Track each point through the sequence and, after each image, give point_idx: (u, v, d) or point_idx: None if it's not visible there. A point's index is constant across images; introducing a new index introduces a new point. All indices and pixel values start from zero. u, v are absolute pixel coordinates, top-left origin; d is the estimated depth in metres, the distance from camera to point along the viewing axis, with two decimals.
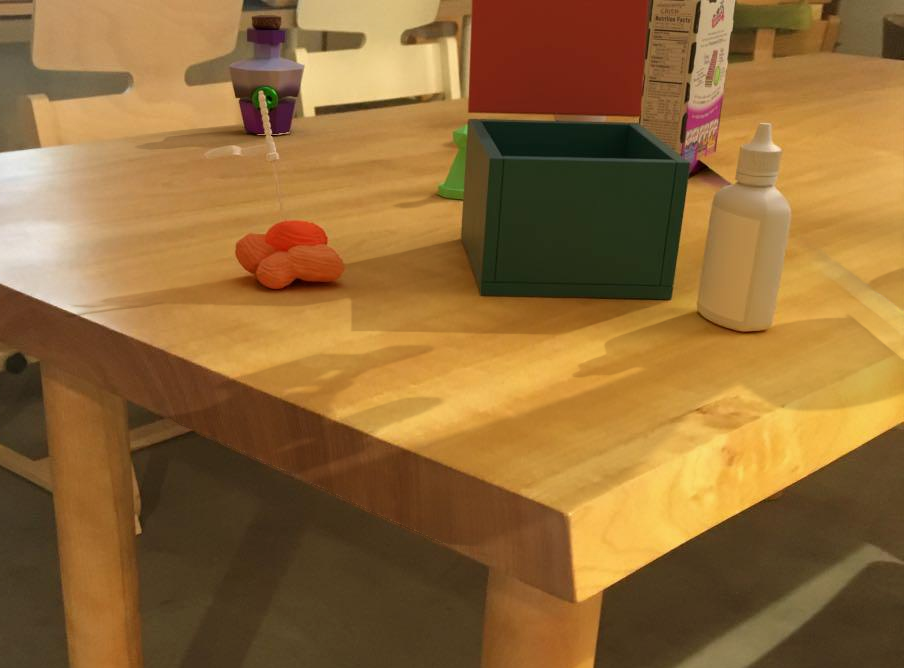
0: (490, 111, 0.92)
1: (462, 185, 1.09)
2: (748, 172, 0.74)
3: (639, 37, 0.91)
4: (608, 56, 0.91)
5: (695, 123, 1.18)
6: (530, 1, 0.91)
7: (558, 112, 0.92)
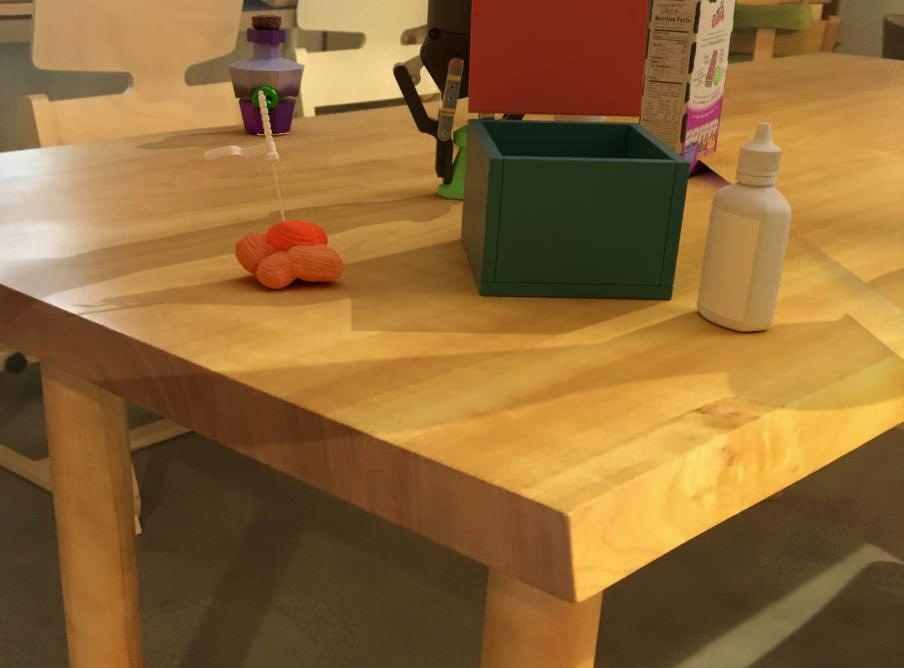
0: (490, 111, 0.92)
1: (462, 185, 1.09)
2: (748, 172, 0.74)
3: (639, 37, 0.91)
4: (608, 56, 0.91)
5: (695, 123, 1.17)
6: (530, 1, 0.91)
7: (558, 112, 0.92)
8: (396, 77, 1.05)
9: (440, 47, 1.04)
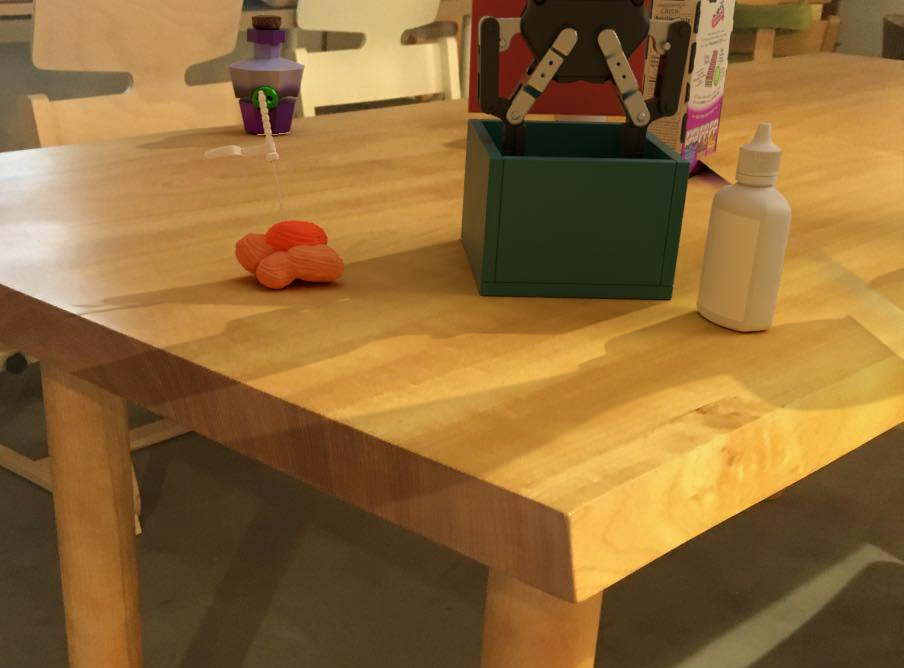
0: None
1: None
2: (748, 172, 0.74)
3: None
4: None
5: (695, 123, 1.17)
6: None
7: (558, 112, 0.92)
8: (483, 30, 0.81)
9: (550, 19, 0.80)
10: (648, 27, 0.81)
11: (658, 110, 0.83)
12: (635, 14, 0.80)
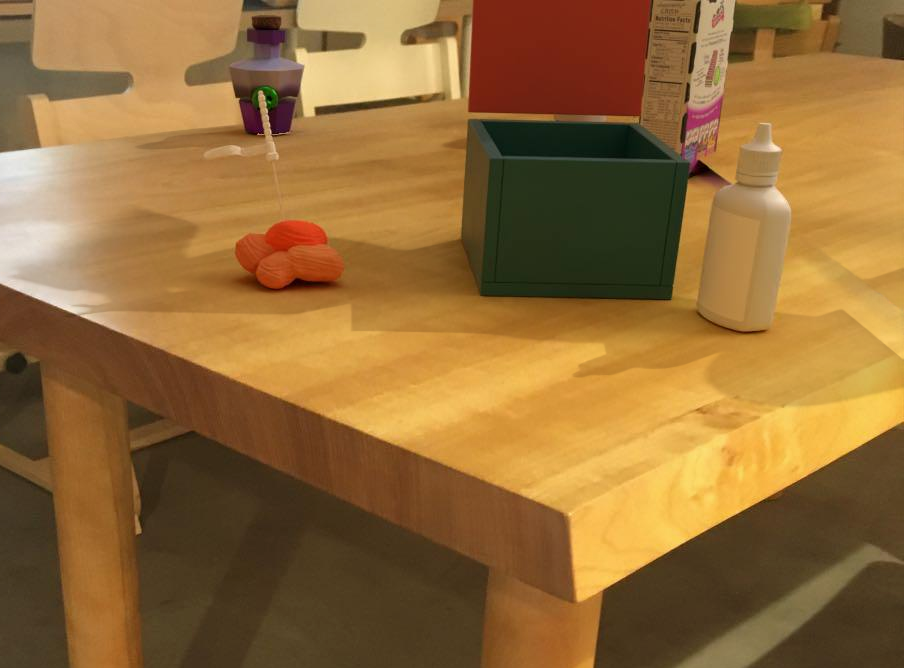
0: (490, 111, 0.92)
1: None
2: (748, 172, 0.74)
3: (641, 37, 0.91)
4: (609, 56, 0.91)
5: (695, 123, 1.17)
6: (531, 0, 0.90)
7: (558, 113, 0.92)
8: None
9: None
10: None
11: None
12: None
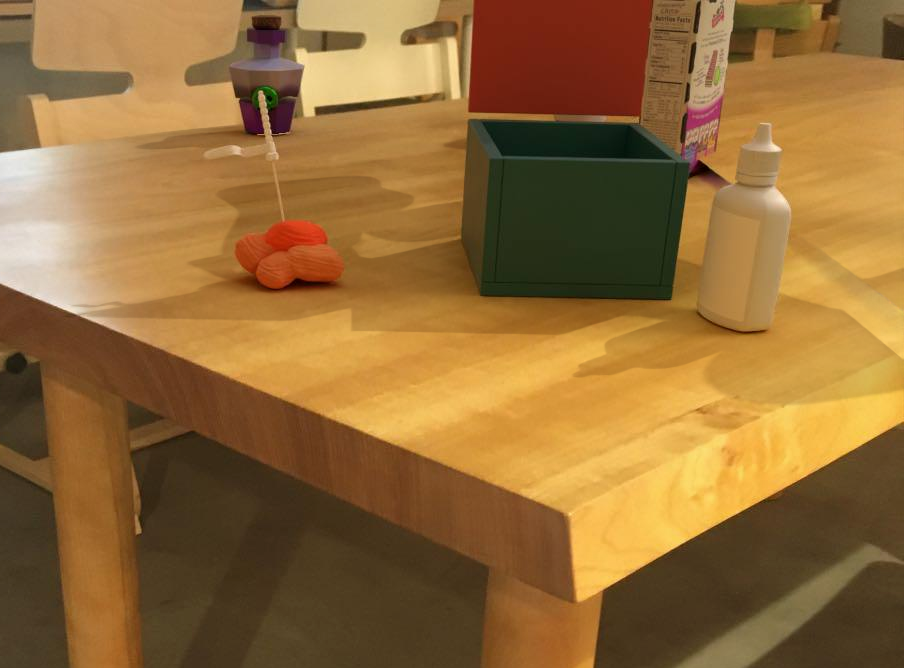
0: (490, 112, 0.92)
1: None
2: (748, 172, 0.74)
3: (642, 37, 0.90)
4: (610, 56, 0.91)
5: (695, 123, 1.17)
6: (533, 0, 0.89)
7: (558, 113, 0.92)
8: None
9: None
10: None
11: None
12: None
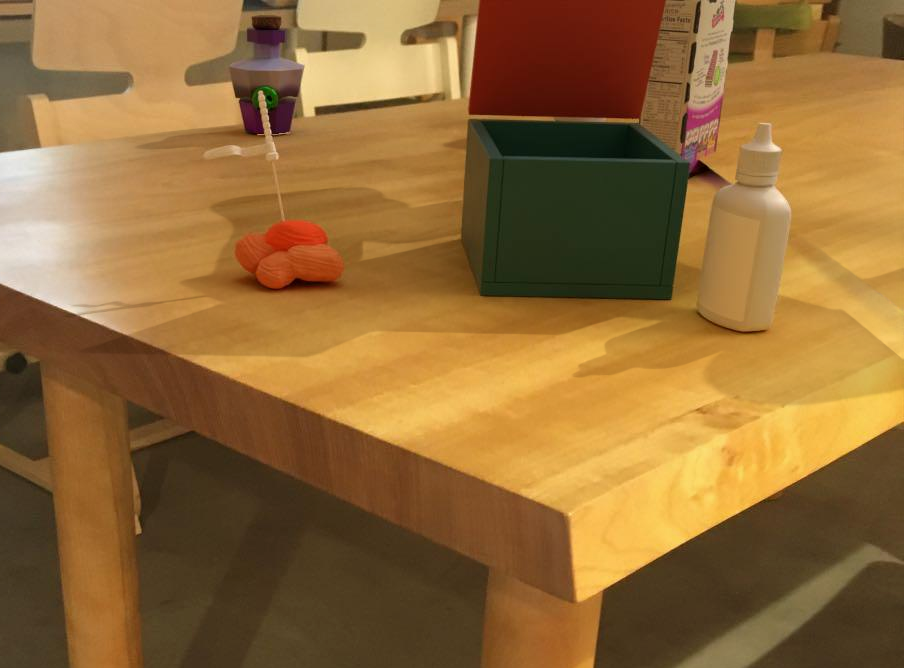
0: (490, 114, 0.92)
1: None
2: (748, 172, 0.74)
3: (648, 49, 0.88)
4: (614, 66, 0.89)
5: (695, 123, 1.17)
6: (539, 16, 0.86)
7: (558, 116, 0.92)
8: None
9: None
10: None
11: None
12: None
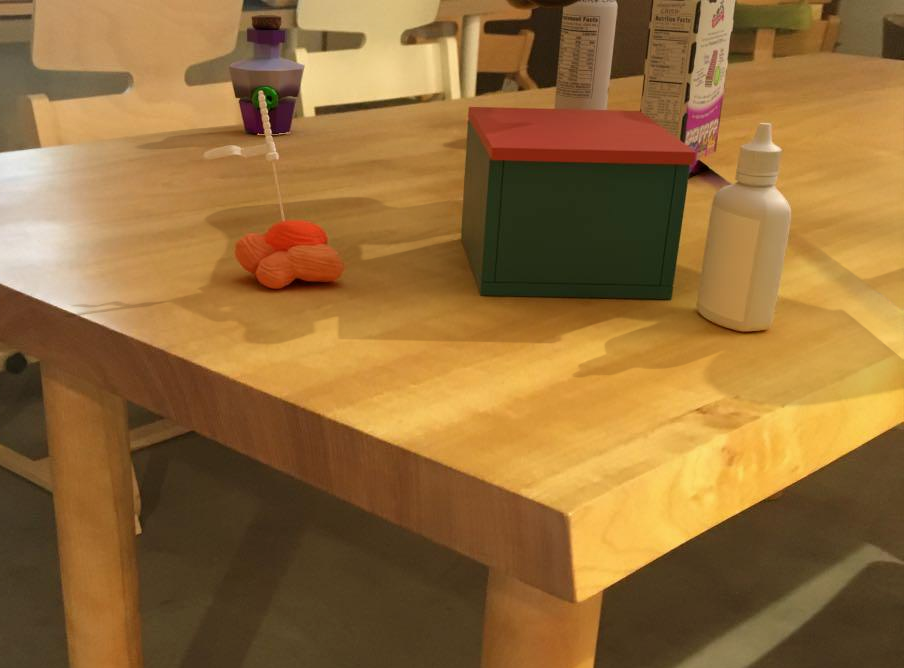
0: None
1: None
2: (748, 172, 0.74)
3: None
4: None
5: (695, 123, 1.17)
6: None
7: None
8: None
9: None
10: None
11: None
12: None
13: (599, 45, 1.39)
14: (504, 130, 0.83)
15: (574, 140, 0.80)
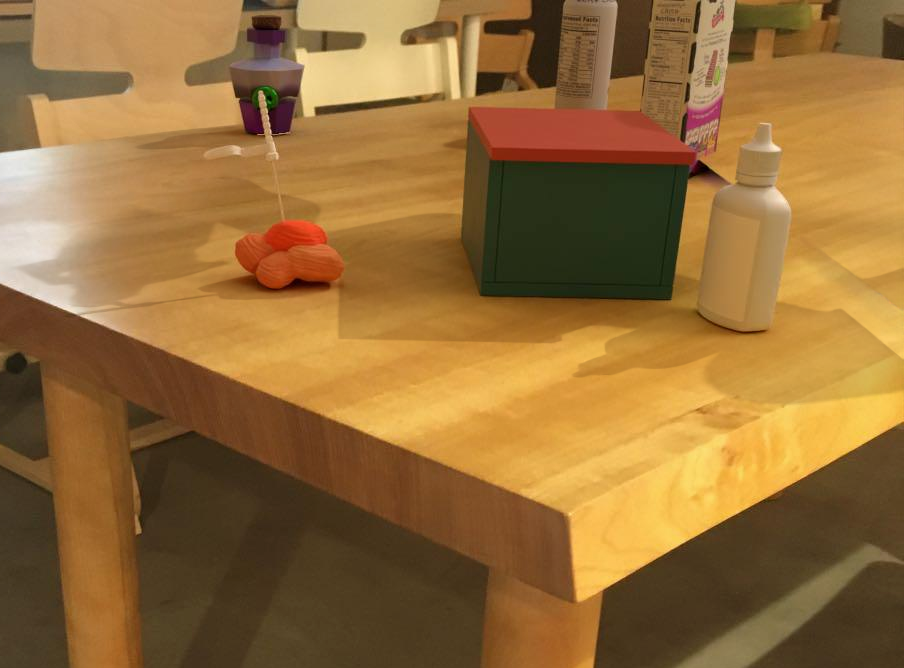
0: None
1: None
2: (748, 172, 0.74)
3: None
4: None
5: (695, 123, 1.17)
6: None
7: None
8: None
9: None
10: None
11: None
12: None
13: (599, 45, 1.39)
14: (504, 130, 0.83)
15: (574, 140, 0.80)
